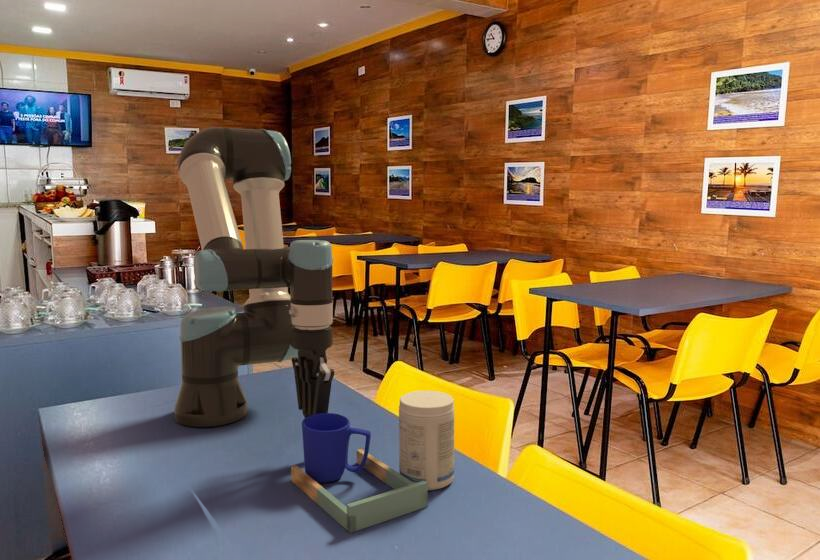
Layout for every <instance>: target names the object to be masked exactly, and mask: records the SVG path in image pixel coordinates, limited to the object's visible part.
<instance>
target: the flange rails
mask: <svg viewBox="0 0 820 560" xmlns="http://www.w3.org/2000/svg"><path fill="white" fill-rule="evenodd" d="M364 451H365V449H362V448H359V449H356V464H358V466H359V465H360V464H361V462H362V460H363V456H364ZM390 468H391V467H390V466H389V465H387V464H386V463H384V462H382V461H381V460H379V459H377V458H376V456H373V455H371V454H370V453H369V452H368V457H367V460H366V463H365V465H364V467H363V468H362V469H365V470H366V471H367V472H369V473H370V474H372V475H373V476H374V477H376V478H377V479H378V480H381V481H382V482H383V483H385V484H386V469H390ZM290 481H291V482H292V483H293V484H294V485H296V486H297V487H298V488H299V489H300V490H301V491H302V492H303V493H305V494H306V495H307V496H308V497H309V499H311V500H312V501H314V502H315V503H316V504H317V489H319V488H324V487H323V486H322V485H321V484H320V483H319V482H316V481H315V480H313V479H312V478H311V477H310V476H309V475H307V474H306V472H305V470H302V469H301V468H300V467H299V466H298V465H292V466H291V467H290Z"/></svg>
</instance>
